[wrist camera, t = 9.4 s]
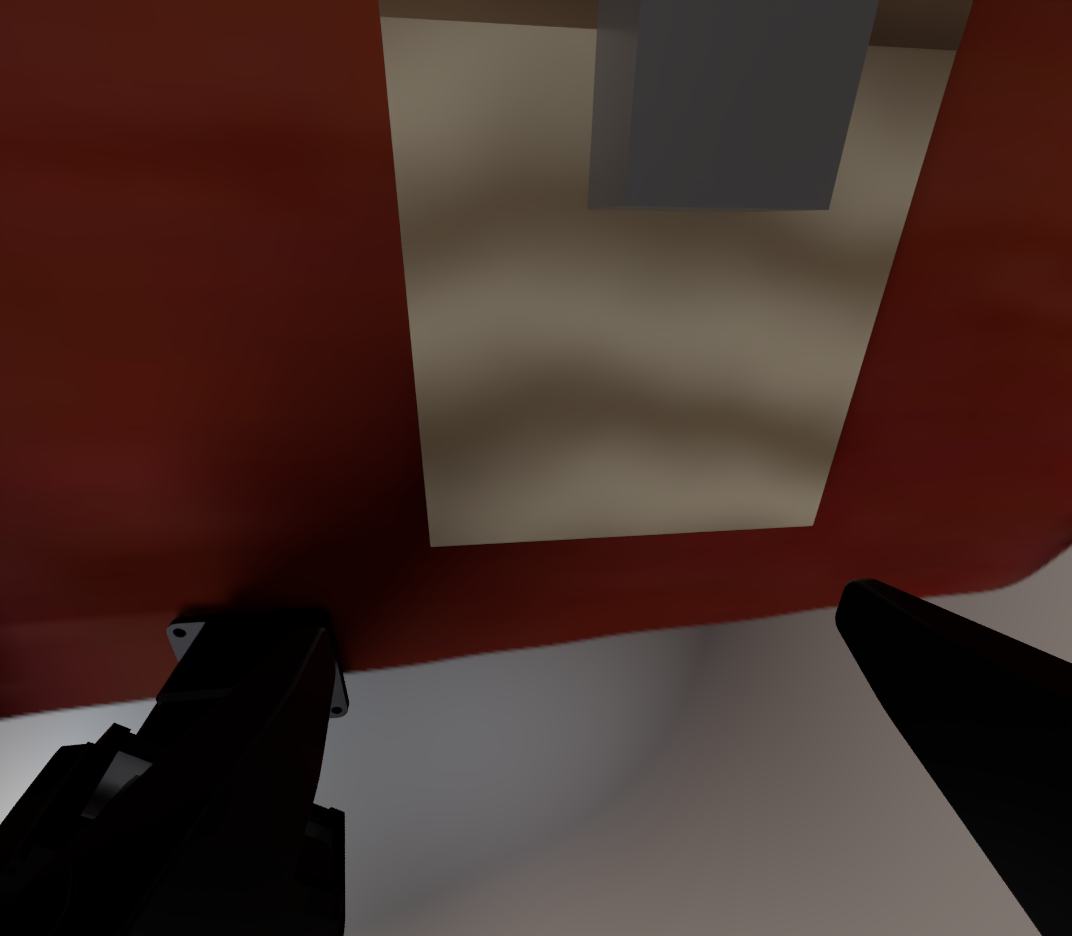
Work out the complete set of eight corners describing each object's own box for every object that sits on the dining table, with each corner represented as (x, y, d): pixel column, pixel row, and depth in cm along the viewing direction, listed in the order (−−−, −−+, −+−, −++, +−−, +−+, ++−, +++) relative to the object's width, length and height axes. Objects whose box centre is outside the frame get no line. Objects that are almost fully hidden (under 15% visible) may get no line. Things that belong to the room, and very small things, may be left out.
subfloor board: (792, 507, 23) (813, 526, 21) (433, 526, 21) (430, 547, 20) (996, -226, 13) (1057, -278, 12) (358, -306, 11) (342, -380, 10)
